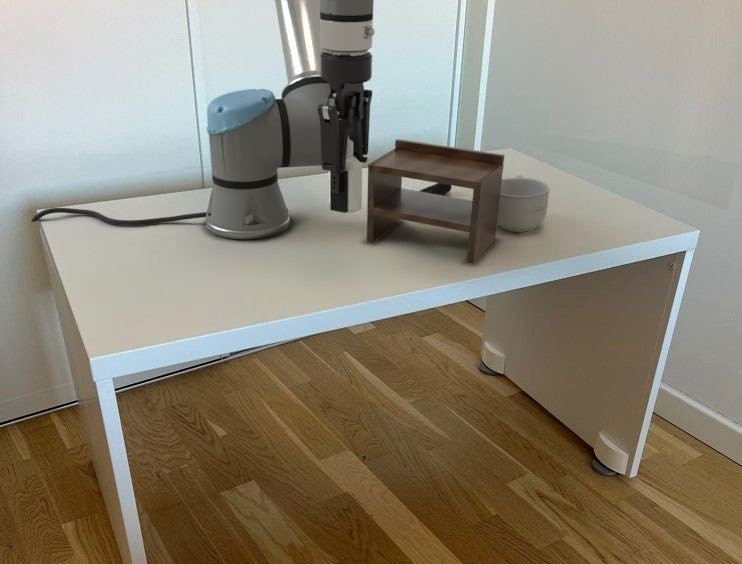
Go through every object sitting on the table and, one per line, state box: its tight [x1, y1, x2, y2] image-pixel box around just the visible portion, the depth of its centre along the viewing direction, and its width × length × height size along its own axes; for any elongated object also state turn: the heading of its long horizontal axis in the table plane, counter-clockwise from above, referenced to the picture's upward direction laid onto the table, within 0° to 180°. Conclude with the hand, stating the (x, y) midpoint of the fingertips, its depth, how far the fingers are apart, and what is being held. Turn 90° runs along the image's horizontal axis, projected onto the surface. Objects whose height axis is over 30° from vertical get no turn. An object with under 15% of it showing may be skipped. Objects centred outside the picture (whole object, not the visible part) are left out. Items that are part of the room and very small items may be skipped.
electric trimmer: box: [419, 183, 452, 196], centre depth 152 cm, size 4×16×3 cm, turn 142°
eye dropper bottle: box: [328, 137, 363, 214], centre depth 118 cm, size 4×6×12 cm
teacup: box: [497, 175, 551, 233], centre depth 142 cm, size 14×11×8 cm
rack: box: [366, 138, 506, 265], centre depth 131 cm, size 20×12×16 cm, turn 64°
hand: (345, 206), depth 121 cm, fingers closed on eye dropper bottle, 4 cm apart
